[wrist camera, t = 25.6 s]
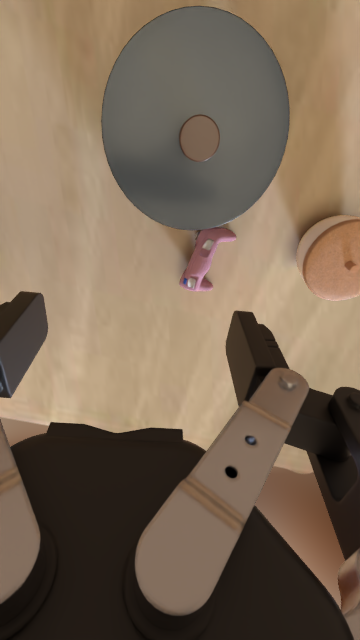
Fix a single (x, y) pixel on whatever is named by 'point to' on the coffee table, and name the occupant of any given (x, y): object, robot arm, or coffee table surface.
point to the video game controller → (203, 258)
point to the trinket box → (331, 258)
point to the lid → (195, 118)
